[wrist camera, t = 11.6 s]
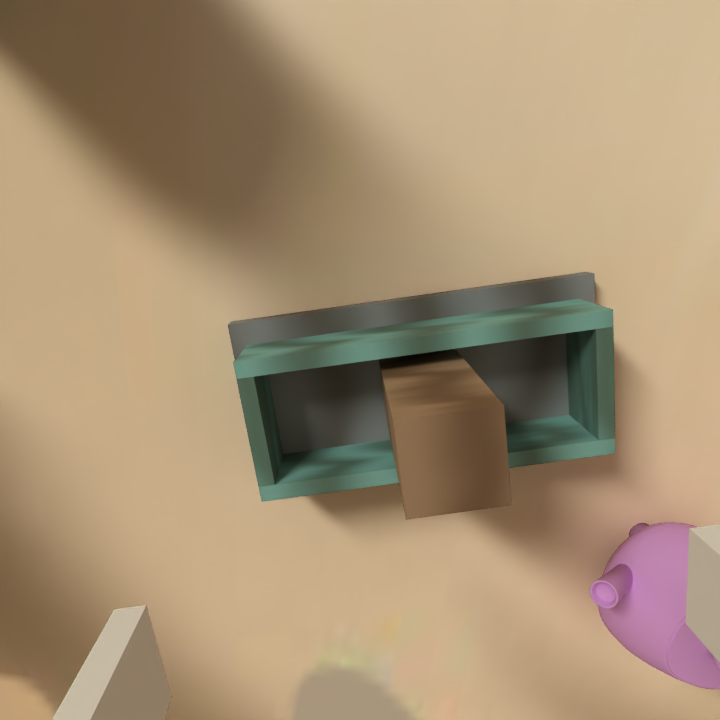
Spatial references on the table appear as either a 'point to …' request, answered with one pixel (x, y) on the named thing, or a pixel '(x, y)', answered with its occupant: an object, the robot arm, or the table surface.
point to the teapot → (655, 603)
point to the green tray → (414, 336)
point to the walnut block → (444, 434)
